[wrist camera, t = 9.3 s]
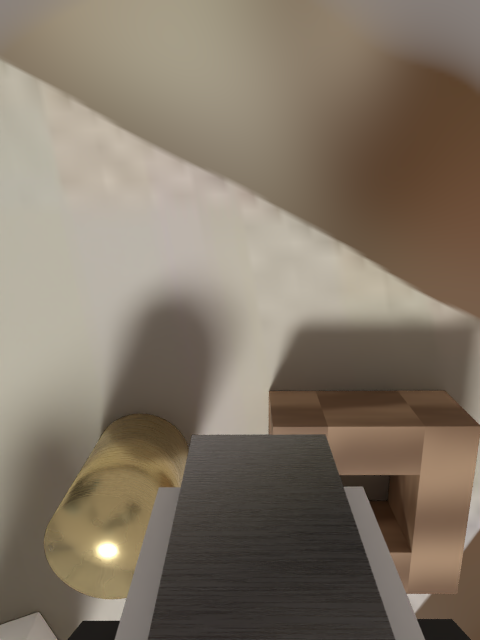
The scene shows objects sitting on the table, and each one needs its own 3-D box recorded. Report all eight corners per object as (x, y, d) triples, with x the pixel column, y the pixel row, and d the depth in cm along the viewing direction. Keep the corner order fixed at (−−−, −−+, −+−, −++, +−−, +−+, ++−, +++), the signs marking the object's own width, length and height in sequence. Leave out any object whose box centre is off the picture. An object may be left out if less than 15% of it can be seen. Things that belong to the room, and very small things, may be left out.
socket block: (268, 391, 31) (273, 427, 26) (444, 390, 31) (481, 426, 26) (267, 537, 34) (271, 593, 29) (427, 537, 34) (457, 593, 29)
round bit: (93, 413, 32) (36, 495, 23) (187, 413, 32) (164, 495, 23) (102, 494, 34) (51, 598, 25) (191, 494, 33) (171, 599, 25)
